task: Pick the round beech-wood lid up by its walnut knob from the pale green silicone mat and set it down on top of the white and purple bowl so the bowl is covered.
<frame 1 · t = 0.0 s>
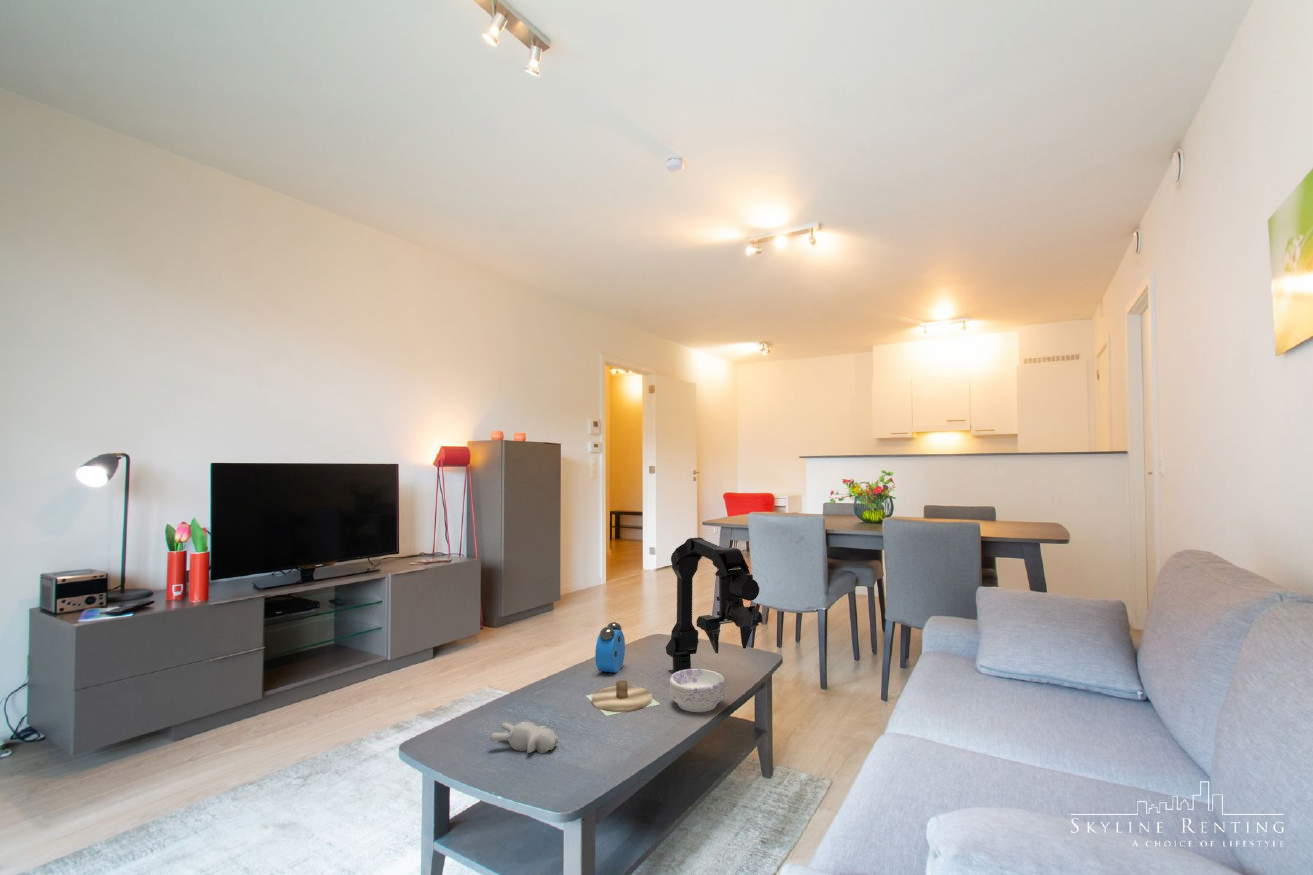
hand: (730, 650, 166), 15 cm above the table, fingers open, 9 cm apart
mat: (622, 701, 168), on the table
lid: (622, 699, 168), point 1 cm above the table, touching mat
bunny figurine: (525, 748, 142), on the table
alarm clock: (611, 672, 194), on the table
white and purple bowl: (697, 707, 164), on the table
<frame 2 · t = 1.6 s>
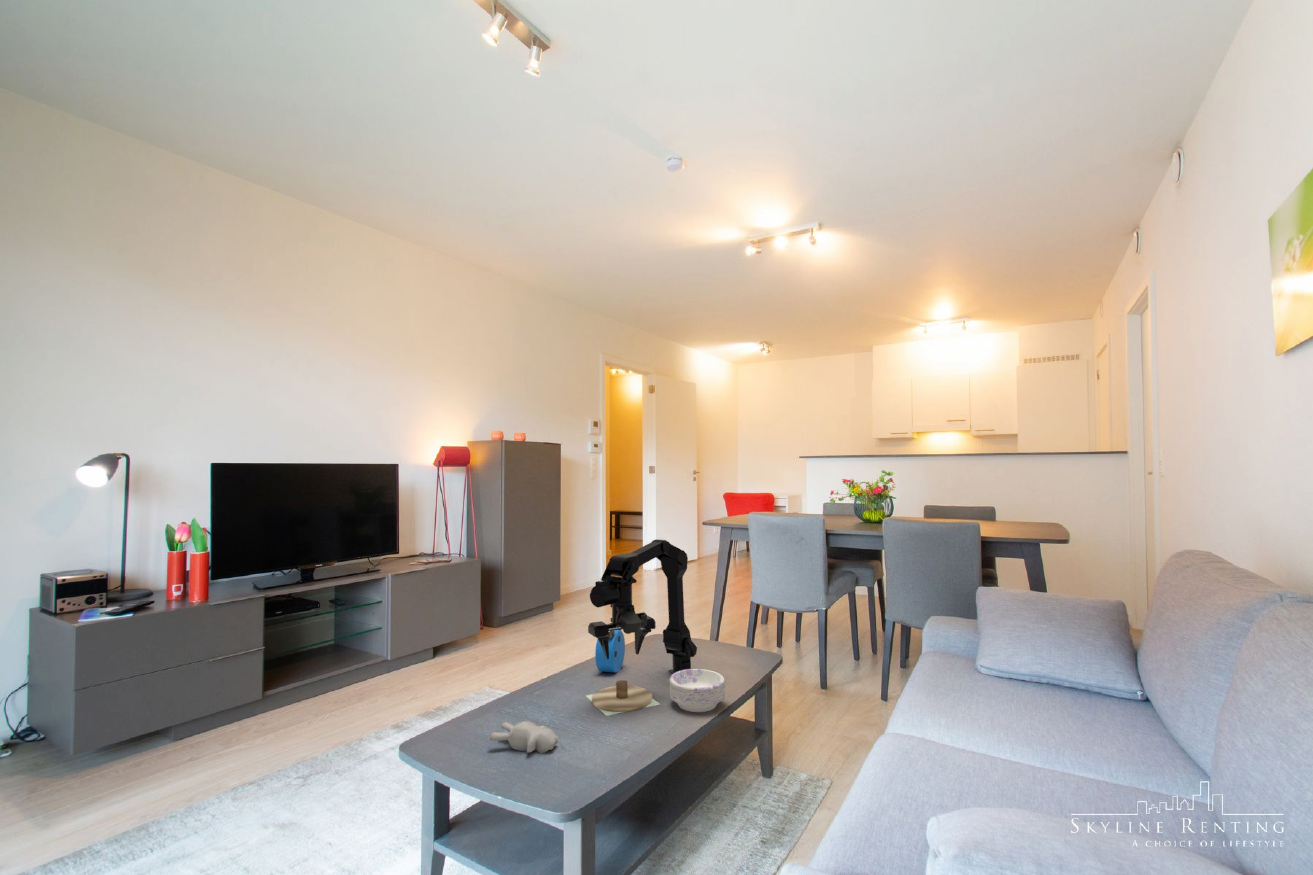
hand: (622, 656, 169), 13 cm above the table, fingers open, 9 cm apart
nothing on the table moved.
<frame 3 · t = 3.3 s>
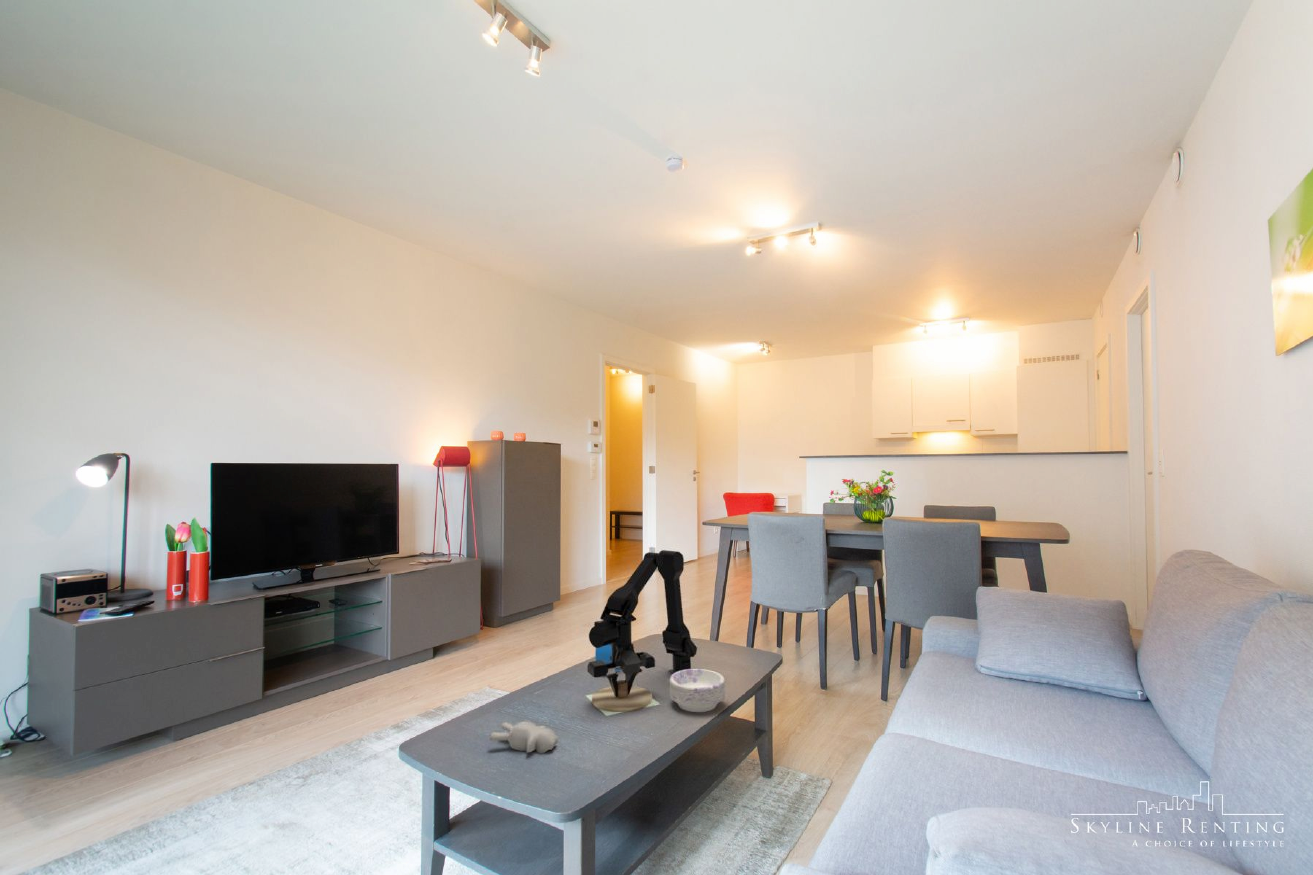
hand: (622, 695, 168), 2 cm above the table, fingers closed on lid, 3 cm apart
lid: (622, 699, 168), point 1 cm above the table, touching gripper, mat
everything else where it was.
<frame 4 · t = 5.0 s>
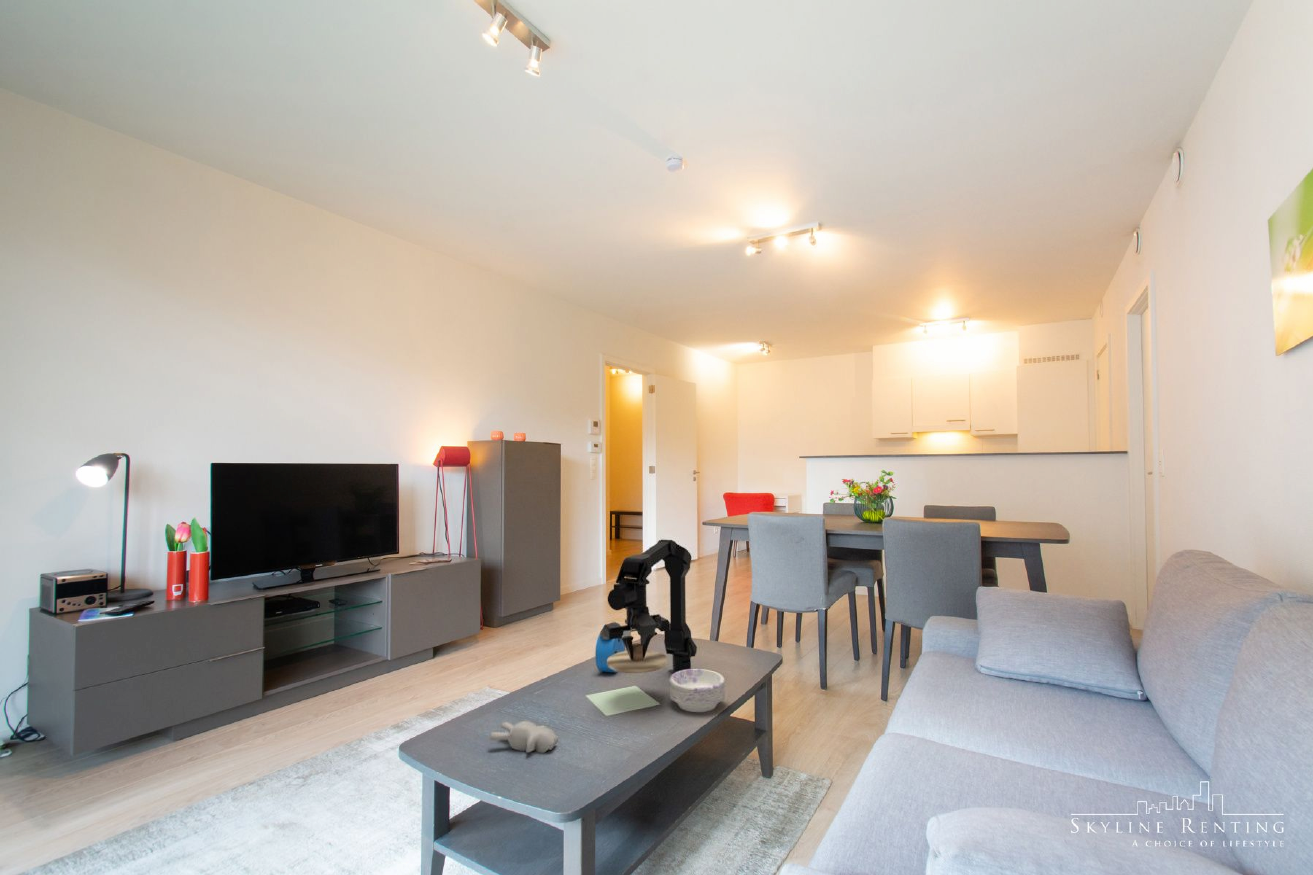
hand: (637, 658, 168), 12 cm above the table, fingers closed on lid, 3 cm apart
lid: (637, 662, 168), point 11 cm above the table, touching gripper
everything else where it was.
when the fingers open (10 cm above the table, at t = 6.5 s): lid drops 1 cm, resting on white and purple bowl.
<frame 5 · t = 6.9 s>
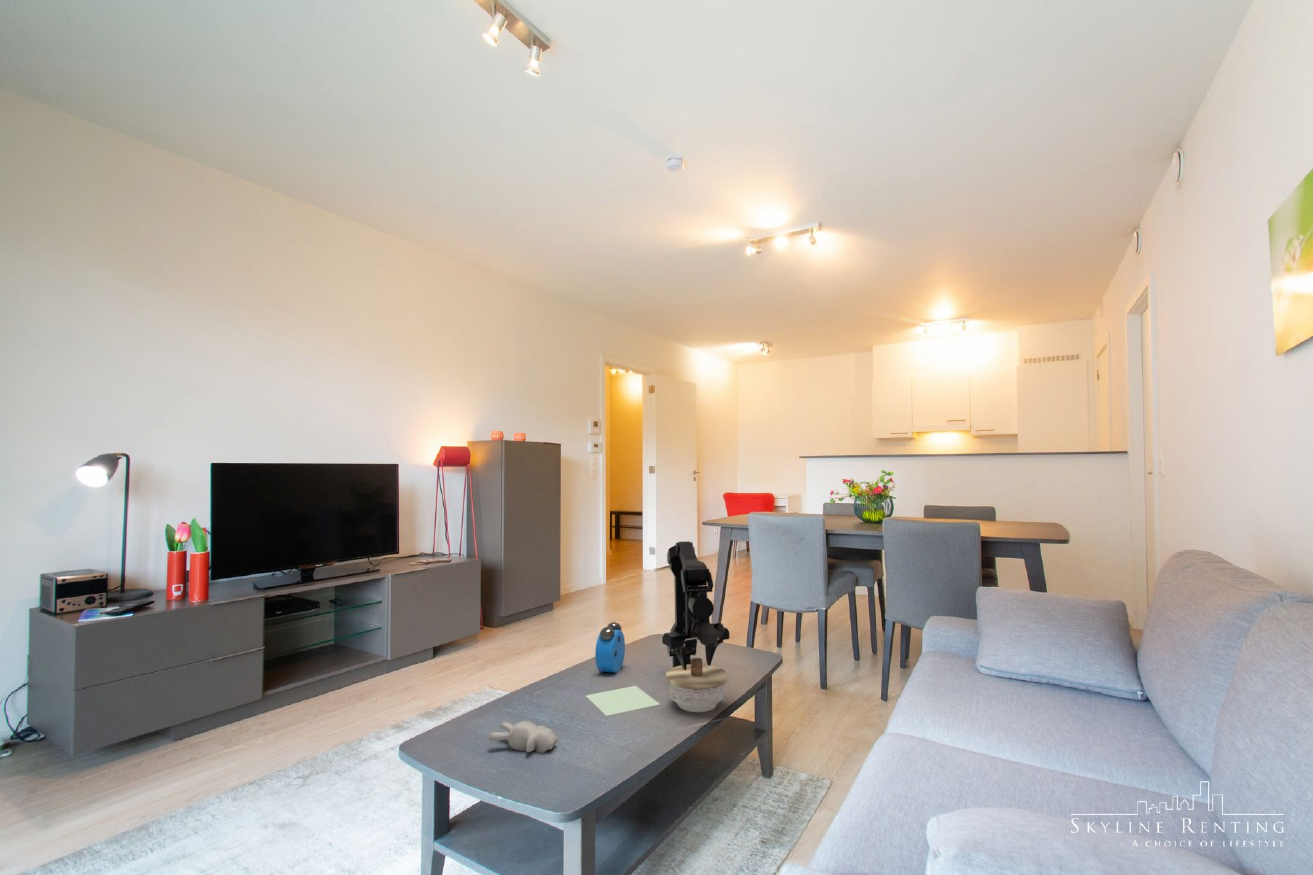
hand: (696, 667, 165), 10 cm above the table, fingers open, 7 cm apart
lid: (696, 677, 165), point 8 cm above the table, touching white and purple bowl
white and purple bowl: (697, 707, 164), on the table, touching lid
everything else where it was.
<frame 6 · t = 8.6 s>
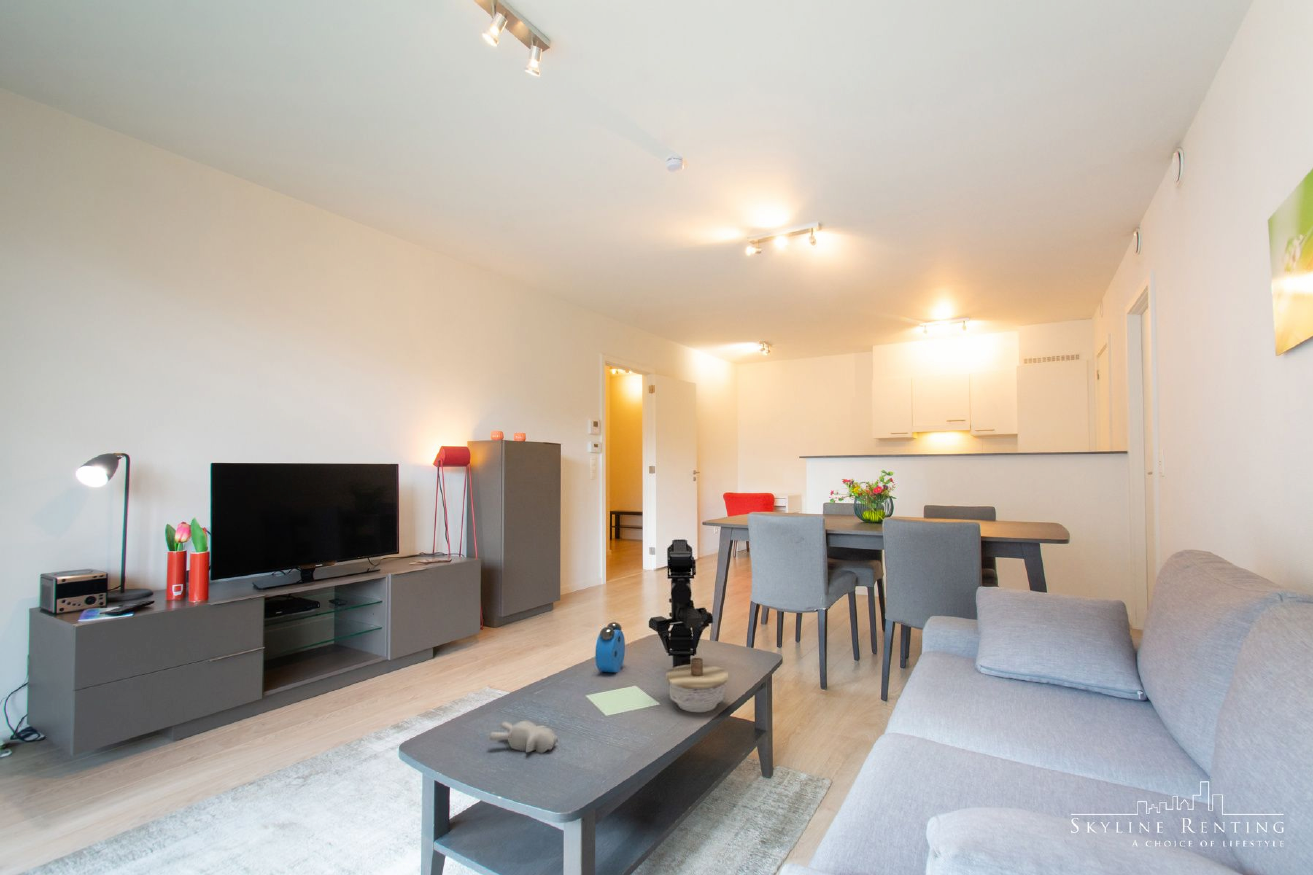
hand: (681, 650, 173), 13 cm above the table, fingers open, 9 cm apart
nothing on the table moved.
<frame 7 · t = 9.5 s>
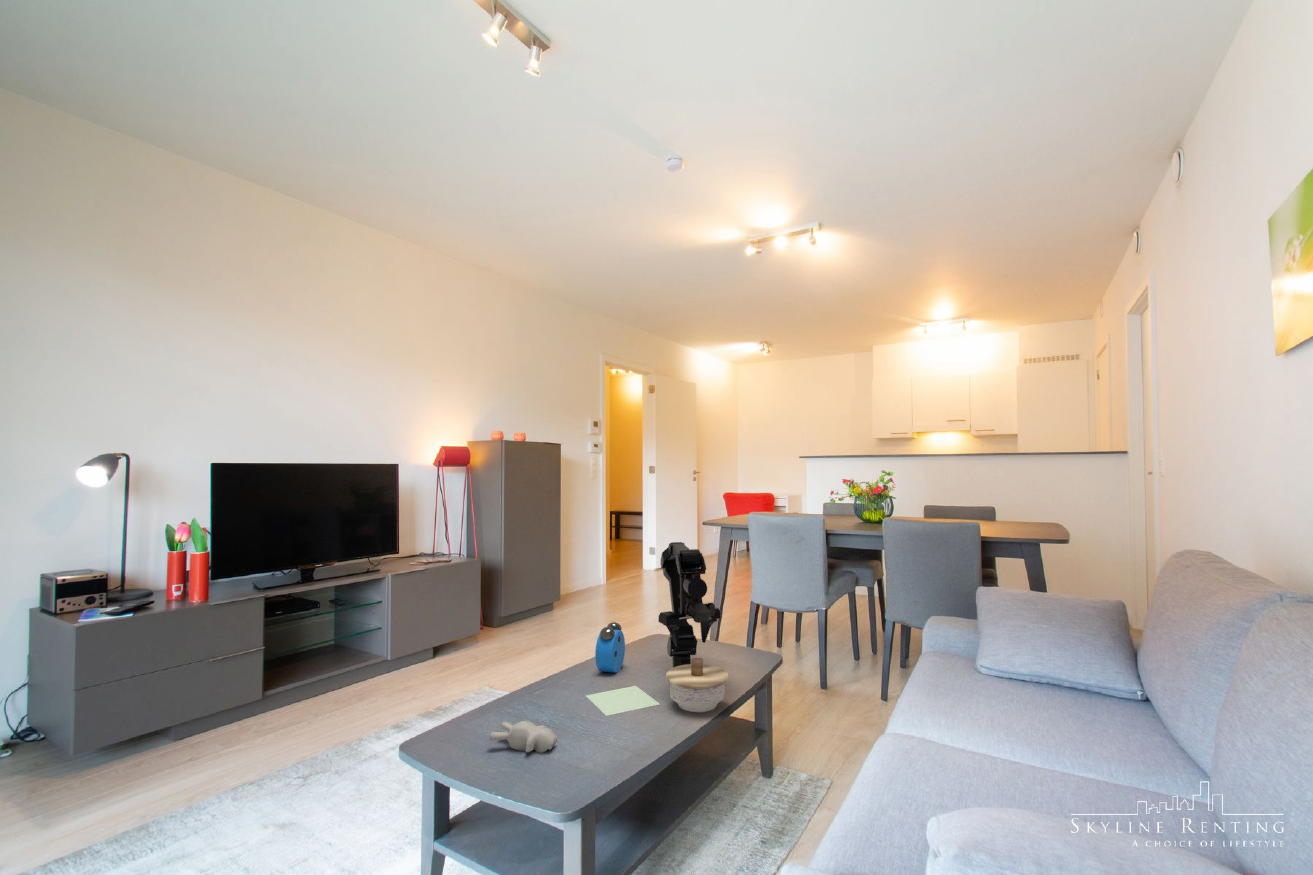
hand: (690, 644, 178), 13 cm above the table, fingers open, 9 cm apart
nothing on the table moved.
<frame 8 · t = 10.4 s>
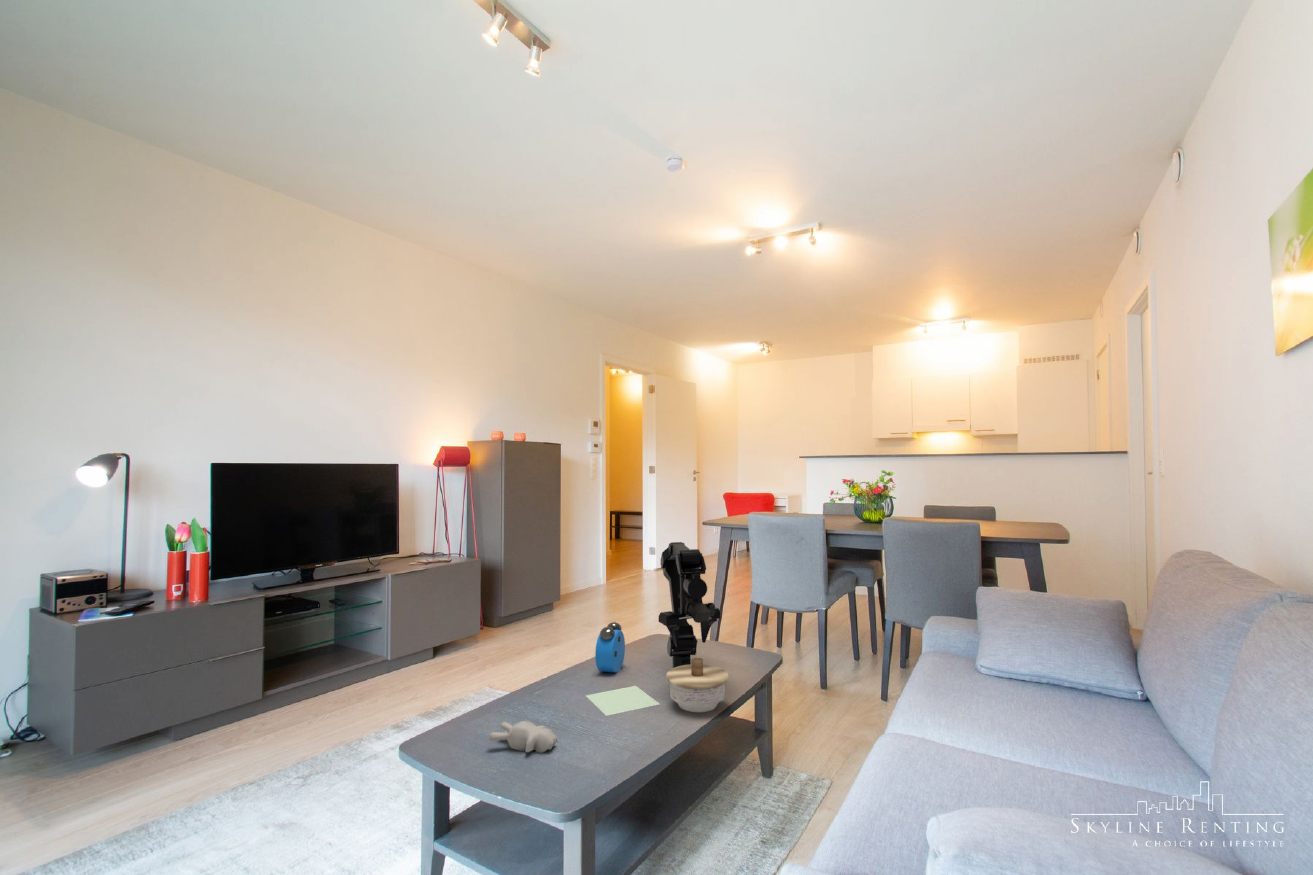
hand: (690, 644, 178), 13 cm above the table, fingers open, 9 cm apart
nothing on the table moved.
at the end: lid inside the target area on the white and purple bowl (0.1 cm from its centre), point 8.1 cm above the white and purple bowl's base; lid tilted 0°; the gripper is holding nothing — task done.
